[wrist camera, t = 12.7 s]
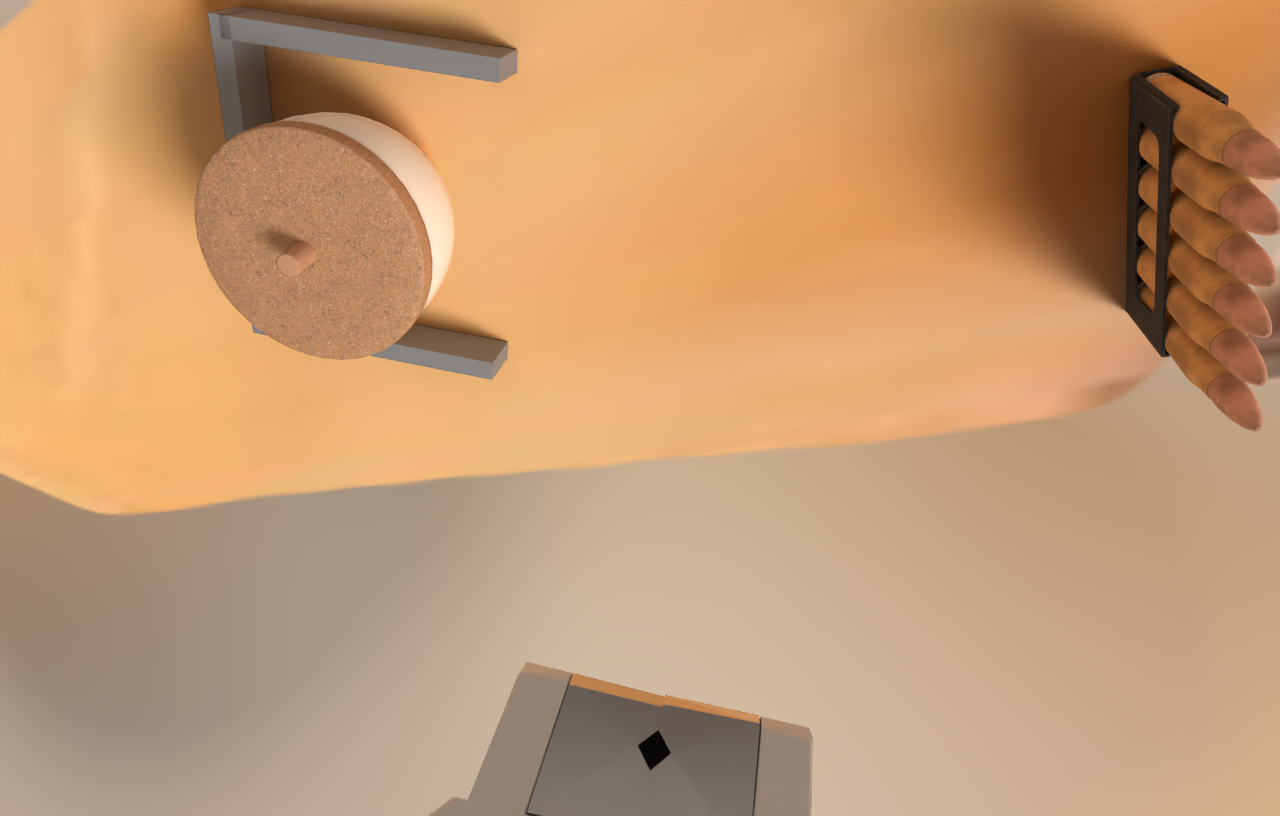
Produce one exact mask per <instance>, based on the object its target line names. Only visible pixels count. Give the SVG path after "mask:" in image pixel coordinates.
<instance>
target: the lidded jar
mask: <svg viewBox="0 0 1280 816" xmlns="http://www.w3.org/2000/svg"><path fill="white" fill-rule="evenodd" d="M195 222H196V230H197V237H198V240H199V244H200V247H201V250H202V254H203V256H204V258H205V261H206V263H207V266H208V268H209V271H210V272H211V274H212V276H213V277H214V279H215V281H216V282H217V284H218V286H219V287H220V289H221V290H222V292H223V293H224V294H225V296H226V297H227V299H228V300H229V301H230V303H231V304H232V305H233V306H234V307H235V308H236V309H237V310H238V311H239V312H240V313H241V314H242V315H243V316H244V317H245V318H246V319H247V320H248V321H249V322H251V323H252V324H253V325H254V326H255V327H256V328H257V329H259V330H260V331H262V332H263V333H265V334H266V335H268V336H269V337H271V338H272V339H274V340H276V341H278V342H279V343H281V344H283V345H285V346H287V347H289V348H291V349H294V350H297V351H299V352H302V353H305V354H308V355H312V356H316V357H321V358H327V359H339V360H344V359H358V358H362V357H366V356H370V355H373V354H375V353H378V352H380V351H382V350H385V349H386V348H388V347H389V346H391V345H392V344H394V343H395V342H396V341H398V340H399V339H400V338H401V337H402V336H403V335H404V334H405V333H406V332H407V331H408V330H409V329H410V328H411V326H412V325H413V324H414V323H415V321H416V320H417V318H418V317H419V315H420V314H421V312H422V311H423V310H424V309H425V308H426V307H427V305H428V304H429V303H430V302H431V300H432V298H433V297H434V295H435V294H436V292H437V291H438V289H439V287H440V286H441V284H442V282H443V280H444V277H445V275H446V272H447V270H448V267H449V264H450V262H451V258H452V253H453V248H454V235H455V224H454V215H453V209H452V205H451V201H450V198H449V194H448V192H447V190H446V187H445V185H444V183H443V180H442V179H441V177H440V175H439V174H438V172H437V170H436V169H435V167H434V166H433V164H432V163H431V162H430V161H429V159H428V158H427V157H426V156H425V154H424V153H423V152H422V151H421V150H420V149H419V148H418V147H417V146H416V145H415V144H414V143H413V142H411V141H410V140H409V139H407V138H406V137H405V136H403V135H402V134H401V133H399V132H398V131H396V130H394V129H392V128H390V127H388V126H387V125H385V124H382V123H380V122H377V121H374V120H372V119H369V118H366V117H364V116H359V115H354V114H349V113H333V112H318V113H311V114H304V115H298V116H292V117H289V118H286V119H283V120H280V121H277V122H272V123H265V124H262V125H259V126H256V127H253V128H251V129H248V130H245V131H243V132H240V133H238V134H237V135H235V136H234V137H232V138H230V139H229V140H227V141H226V142H224V143H223V144H222V145H221V146H220V147H219V148H218V149H217V150H216V151H215V152H214V153H213V155H212V156H211V158H210V159H209V161H208V162H207V164H206V165H205V167H204V170H203V172H202V175H201V177H200V180H199V182H198V187H197V192H196V198H195Z"/></svg>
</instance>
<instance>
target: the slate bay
mask: <svg viewBox="0 0 1280 816" xmlns="http://www.w3.org/2000/svg"><path fill="white" fill-rule="evenodd" d="M208 18H209V25H210V32H211V39H212V46H213V53H214V60H215V67H216V74H217V81H218V88H219V95H220V102H221V109H222V116H223V123H224V130H225V137H226V141H227V140H229V139H230V138H232V137H234V136H235V135H237V134H238V133H240V132H243V131H245V130H248V129H251V128H253V127H256V126H259V125H262V124H265V123H272V122H273V119H272V110H271V101H270V92H269V83H268V75H267V66H266V57H265V48H264V45H266V46H272V47H278V48H284V49H291V50H297V51H303V52H309V53H316V54H322V55H328V56H334V57H341V58H347V59H353V60H359V61H366V62H372V63H378V64H384V65H391V66H397V67H403V68H409V69H415V70H422V71H428V72H434V73H440V74H447V75H453V76H459V77H465V78H472V79H478V80H484V81H490V82H497V83H499V82H501V81H503V80H505V79H506V78H508V77H510V76H512V75H513V74H515V73H517V49H511V48H505V47H498V46H492V45H485V44H479V43H472V42H466V41H460V40H453V39H447V38H440V37H434V36H428V35H421V34H415V33H408V32H402V31H395V30H389V29H383V28H376V27H370V26H363V25H357V24H350V23H344V22H338V21H331V20H325V19H318V18H312V17H305V16H299V15H293V14H286V13H280V12H273V11H267V10H260V9H254V8H248V7H241V6H240V7H234V8H229V9H224V10H219V11H214V12H209V13H208ZM252 327H253V333H258V334H263V335H266V334H265V333H263V332H262V331H260V330H259V329H257V328H256V327H255V326H254V325H253V324H252ZM507 347H508V342H505V341H500V340H495V339H490V338H484V337H479V336H474V335H469V334H463V333H458V332H453V331H448V330H443V329H437V328H432V327H427V326H422V325H417V324H413V325H412V326H411V328H410V329H409V330H408V331H407V332H406V333H405V334H404V335H403V336H402V337H401V338H400V339H399V340H398V341H396V342H395V343H394V344H392V345H391V346H389V347H388V348H386V349H385V350H382V351H380V352H378V353H375V354H373V355H370V356H374V357H379V358H385V359H390V360H395V361H400V362H405V363H410V364H415V365H420V366H425V367H430V368H435V369H440V370H445V371H451V372H456V373H461V374H466V375H471V376H476V377H481V378H486V379H491V380H492V379H493V378H494V376H495V375H496V373H497V372H498V370H499V369H500V368H501V366H502V365H503V363H504V362H505V360H506V359H507Z"/></svg>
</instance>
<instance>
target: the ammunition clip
mask: <svg viewBox="0 0 1280 816" xmlns="http://www.w3.org/2000/svg"><path fill="white" fill-rule="evenodd" d="M1248 176H1249V177H1252V178H1255V179H1260V180H1278V179H1280V149H1279V148H1278V147H1277V146H1276V145H1275V144H1274V143H1273V142H1271V141H1270V140H1269V139H1268V138H1266V137H1265V136H1263V135H1262V134H1261V133H1260V132H1259V131H1258V130H1256V129H1255V128H1254V126H1253V125H1252V123H1251V122H1250V121H1249V120H1248V119H1247V118H1246V117H1245V116H1244V115H1242V114H1240V113H1239V112H1237V111H1235V110H1233V109H1232V108H1230V107H1228V96H1227V95H1226V94H1224V93H1223V92H1221V91H1220V90H1218V89H1216V88H1215V87H1213V86H1212V85H1210V84H1209V83H1207V82H1205V81H1204V80H1202V79H1201V78H1199V77H1198V76H1196V75H1194V74H1193V73H1191V72H1190V71H1188V70H1187V69H1185V68H1183V67H1182V66H1180V65H1176V66H1172V67H1167V68H1162V69H1157V70H1152V71H1147V72H1143V73H1138V74H1133V75H1132V76H1131V78H1130V79H1129V134H1128V207H1127V281H1126V311H1127V313H1128V314H1129V315H1130V317H1131V318H1132V319H1133V321H1134V322H1135V323H1136V325H1137V326H1138V327H1139V328H1140V330H1141V331H1142V332H1143V334H1144V335H1145V336H1146V337H1147V339H1148V340H1149V341H1150V343H1151V344H1152V345H1153V347H1154V348H1155V349H1156V350H1157V352H1158V353H1159V354H1160V356H1161V357H1170V355H1171V357H1172V358H1173V359H1174V361H1175V362H1176V363H1177V365H1178V366H1179V367H1180V369H1181V370H1182V372H1183V373H1184V374H1185V376H1186V377H1187V378H1188V379H1189V381H1191V382H1192V383H1193V384H1194V385H1196V386H1197V387H1198V388H1200V389H1201V390H1202V391H1203V392H1204V393H1205V394H1206V395H1207V396H1208V397H1209V398H1210V399H1211V400H1212V401H1213V402H1214V404H1215V405H1216V406H1217V407H1218V408H1219V409H1220V410H1221V411H1222V412H1223V413H1224V414H1225V415H1226V416H1227V417H1228V418H1230V419H1231V420H1232V421H1234V422H1235V423H1237V424H1238V425H1240V426H1242V427H1244V428H1246V429H1249V430H1251V431H1260V430H1261V429H1262V424H1263V418H1262V413H1261V410H1260V407H1259V404H1258V402H1257V400H1256V398H1255V396H1254V394H1253V393H1252V391H1251V389H1250V388H1249V387H1248V385H1247V384H1246V383H1245V382H1247V383H1250V384H1253V385H1257V386H1263V385H1265V384H1266V382H1267V370H1266V366H1265V363H1264V361H1263V358H1262V356H1261V354H1260V352H1259V351H1258V349H1257V347H1256V346H1255V345H1254V343H1253V342H1252V341H1251V340H1250V339H1249V338H1248V335H1247V334H1250V335H1252V336H1255V337H1261V338H1266V337H1269V336H1270V335H1271V333H1272V322H1271V319H1270V316H1269V314H1268V311H1267V309H1266V307H1265V306H1264V304H1263V303H1262V301H1261V300H1260V298H1259V297H1258V296H1257V295H1256V294H1255V293H1254V292H1253V291H1252V289H1251V287H1250V286H1249V285H1248V284H1250V285H1253V286H1256V287H1260V288H1271V287H1274V286H1275V285H1276V283H1277V273H1276V270H1275V267H1274V264H1273V262H1272V260H1271V258H1270V257H1269V256H1268V254H1267V253H1266V252H1265V251H1264V249H1263V248H1262V247H1260V246H1259V245H1258V244H1257V243H1256V241H1255V240H1254V239H1253V238H1252V237H1251V236H1250V235H1249V234H1248V233H1247V231H1249V232H1252V233H1255V234H1259V235H1265V236H1271V235H1277V234H1279V233H1280V214H1279V211H1278V210H1277V208H1276V206H1275V205H1274V204H1273V203H1272V201H1271V200H1270V199H1269V198H1268V197H1267V196H1266V195H1265V194H1263V193H1262V192H1261V191H1260V190H1259V189H1258V188H1257V187H1256V186H1255V185H1254V184H1253V183H1251V181H1250V179H1249V177H1248ZM1246 333H1247V334H1246ZM1167 351H1168V352H1167Z"/></svg>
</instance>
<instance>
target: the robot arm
mask: <svg viewBox="0 0 1280 816" xmlns="http://www.w3.org/2000/svg"><path fill="white" fill-rule="evenodd" d="M812 744H813V738H812V735H811V732H810V729H809V728H807V727H802V726H798V725H794V724H790V723H786V722H781V721H777V720H773V719H768V718H764V717H761V718H759V716H758V715H755V714H750V713H746V712H741V711H736V710H731V709H727V708H723V707H718V706H713V705H709V704H704V703H700V702H695V701H690V700H685V699H681V698H676V697H672V696H667V695H666V696H665V697H664V696H660V695H656V694H652V693H648V692H644V691H640V690H637V689H633V688H629V687H625V686H621V685H617V684H613V683H609V682H606V681H601V680H598V679H594V678H590V677H586V676H582V675H579V674H575V673H574V674H573V673H570V672H566V671H561V670H557V669H553V668H549V667H545V666H541V665H537V664H533V663H529V662H527V663H526V664H525V666H524V667H523V669H522V670H521V672H520V673H519V674H518V677H517V679H516V681H515V684H514V686H513V689H512V691H511V694H510V696H509V699H508V701H507V704H506V706H505V709H504V711H503V714H502V716H501V719H500V721H499V724H498V726H497V729H496V731H495V734H494V736H493V739H492V741H491V744H490V746H489V749H488V751H487V754H486V756H485V759H484V761H483V764H482V766H481V769H480V771H479V774H478V776H477V779H476V781H475V784H474V786H473V789H472V791H471V793H470V796H469V798H468V800H466V799H462V798H457V797H453V798H451V799H450V800H449V801H447V802H446V803H445V804H443V805H442V806H441V807H439V808H438V809H437V810H436V811H434V812H433V813H431V814H430V815H429V816H811V798H812V797H811V796H812Z"/></svg>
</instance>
